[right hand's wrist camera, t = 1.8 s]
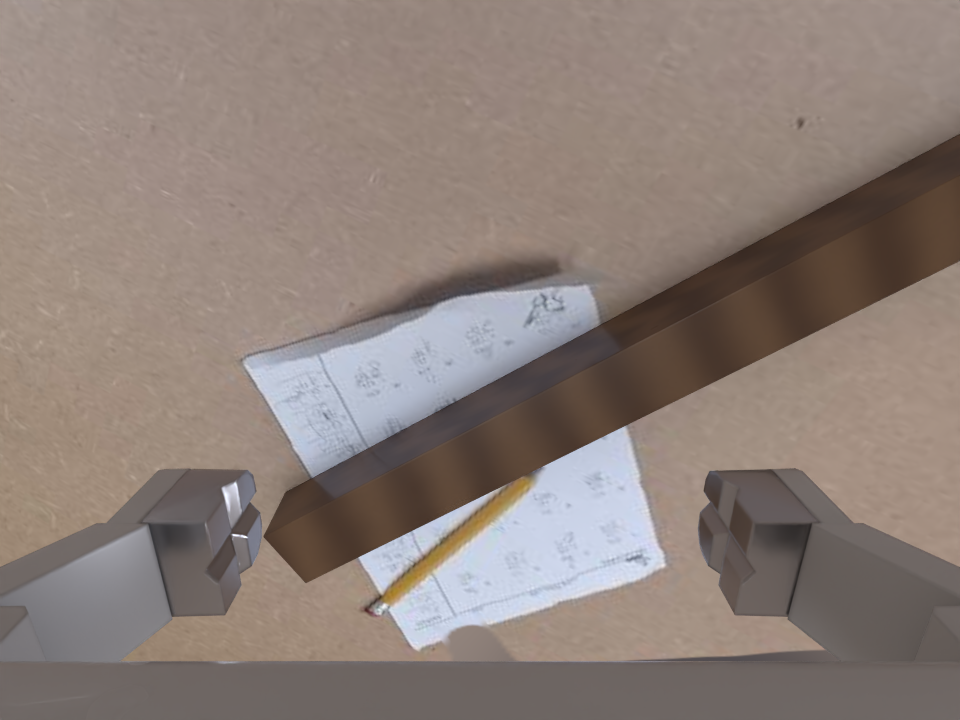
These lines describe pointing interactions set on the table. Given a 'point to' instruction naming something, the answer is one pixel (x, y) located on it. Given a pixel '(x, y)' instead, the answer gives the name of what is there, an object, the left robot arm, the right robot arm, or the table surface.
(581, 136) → the table surface
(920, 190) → the beam
